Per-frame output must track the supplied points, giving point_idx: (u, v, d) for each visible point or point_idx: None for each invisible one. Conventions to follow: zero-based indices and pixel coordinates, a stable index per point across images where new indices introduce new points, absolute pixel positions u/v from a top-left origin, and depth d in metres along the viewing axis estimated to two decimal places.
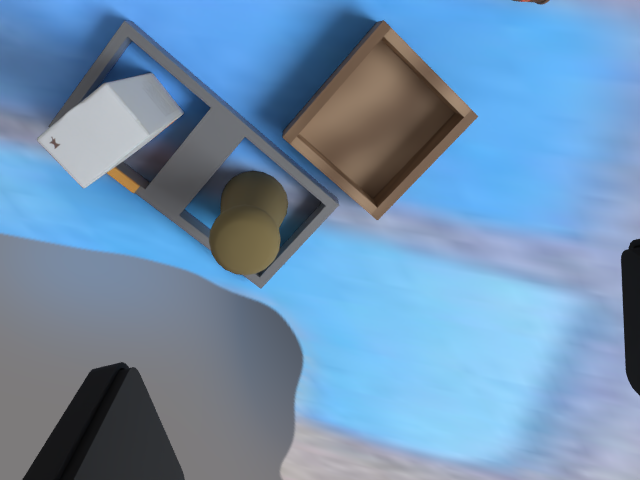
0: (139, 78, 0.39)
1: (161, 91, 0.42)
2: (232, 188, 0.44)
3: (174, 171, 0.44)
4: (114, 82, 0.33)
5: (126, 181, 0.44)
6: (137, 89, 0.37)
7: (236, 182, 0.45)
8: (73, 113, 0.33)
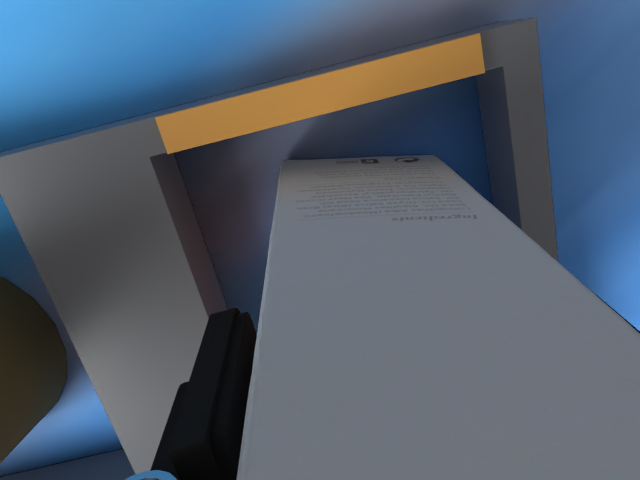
0: None
1: None
2: (6, 412, 0.13)
3: (154, 279, 0.13)
4: None
5: (208, 127, 0.11)
6: None
7: (30, 399, 0.14)
8: None
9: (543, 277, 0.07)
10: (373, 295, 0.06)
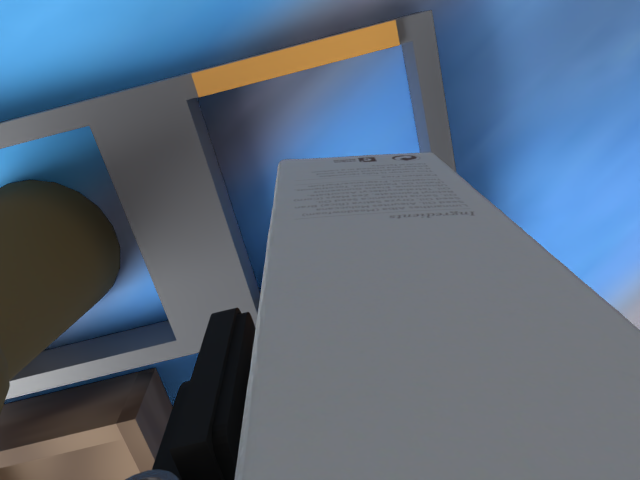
0: None
1: None
2: (88, 275, 0.20)
3: (187, 184, 0.19)
4: None
5: (225, 80, 0.18)
6: None
7: (100, 273, 0.21)
8: None
9: (540, 272, 0.07)
10: (371, 293, 0.06)
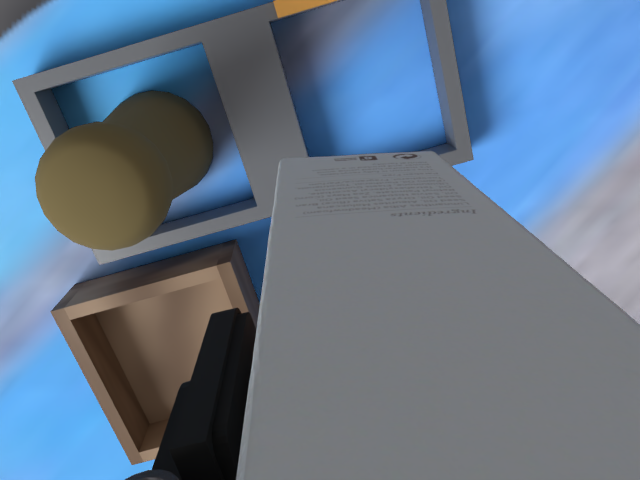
0: None
1: None
2: (198, 151, 0.28)
3: (268, 84, 0.27)
4: None
5: (296, 5, 0.26)
6: None
7: (204, 154, 0.29)
8: None
9: (542, 270, 0.07)
10: (373, 290, 0.06)
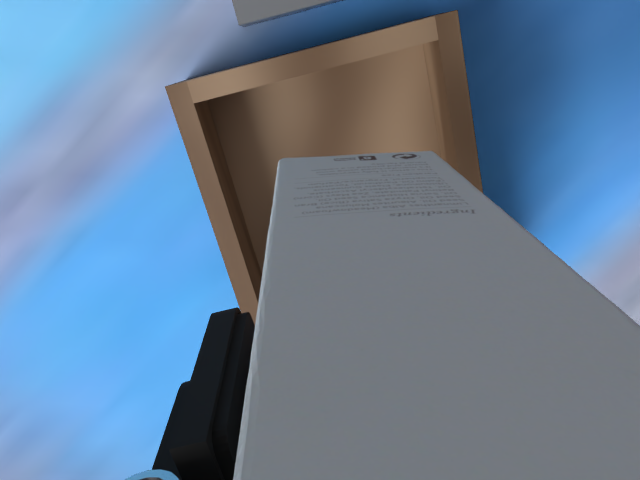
0: None
1: None
2: None
3: None
4: None
5: None
6: None
7: None
8: None
9: (541, 270, 0.07)
10: (371, 290, 0.06)
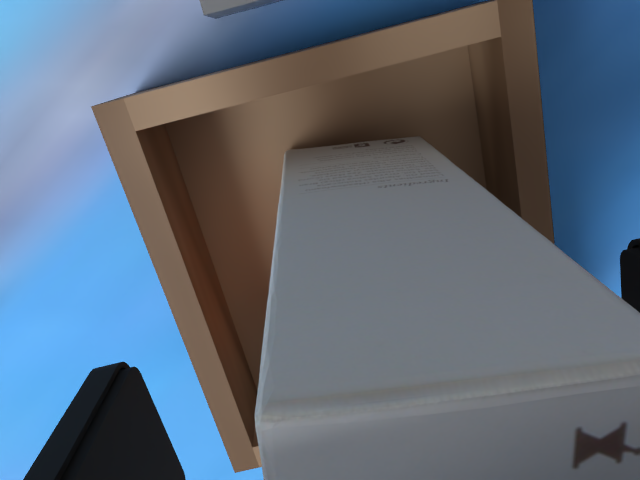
0: None
1: None
2: None
3: None
4: None
5: None
6: None
7: None
8: None
9: (493, 217, 0.09)
10: (359, 238, 0.08)
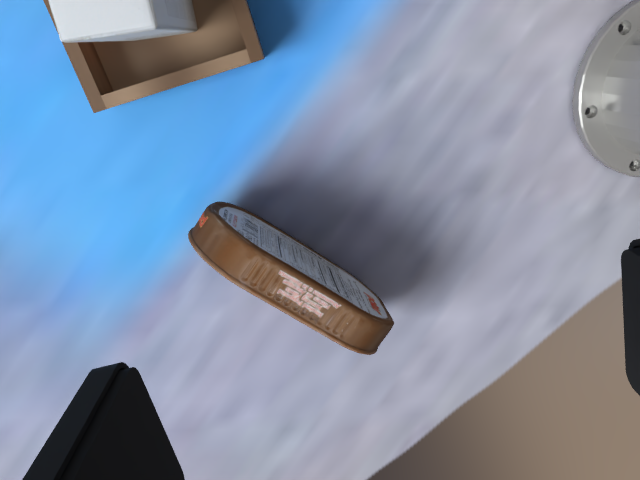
0: (180, 31, 0.28)
1: (164, 35, 0.31)
2: None
3: None
4: (161, 29, 0.23)
5: None
6: None
7: None
8: None
9: None
10: None
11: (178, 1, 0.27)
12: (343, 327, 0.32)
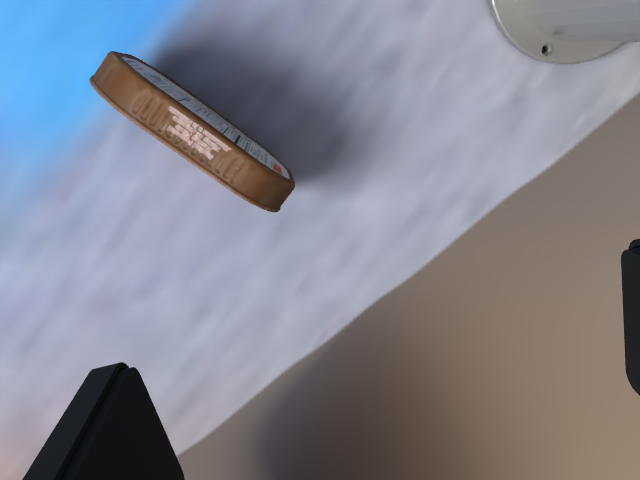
0: None
1: None
2: None
3: None
4: None
5: None
6: None
7: None
8: None
9: None
10: None
11: None
12: (233, 172, 0.33)
